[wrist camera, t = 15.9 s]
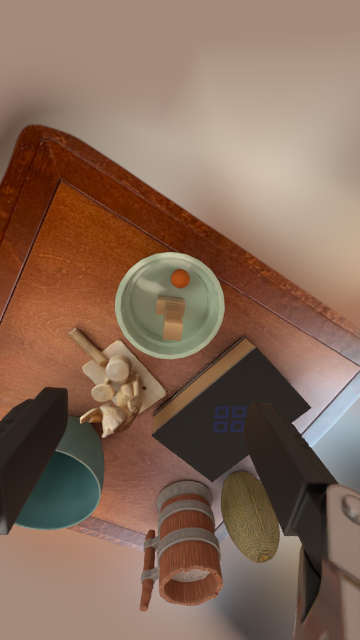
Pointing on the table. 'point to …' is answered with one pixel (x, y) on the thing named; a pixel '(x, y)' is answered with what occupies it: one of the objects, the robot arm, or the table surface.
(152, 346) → the bowl
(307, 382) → the table surface
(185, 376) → the table surface
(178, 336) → the stick
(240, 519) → the fruit
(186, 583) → the mug
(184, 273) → the ball
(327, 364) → the table surface
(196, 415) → the book
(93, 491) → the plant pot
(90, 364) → the wooden toy
